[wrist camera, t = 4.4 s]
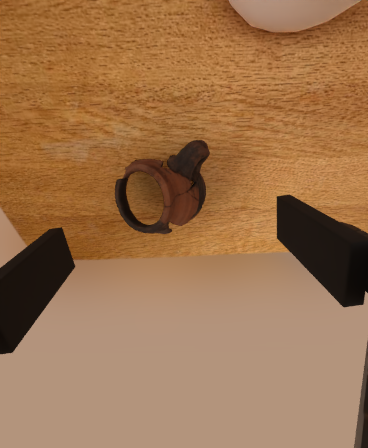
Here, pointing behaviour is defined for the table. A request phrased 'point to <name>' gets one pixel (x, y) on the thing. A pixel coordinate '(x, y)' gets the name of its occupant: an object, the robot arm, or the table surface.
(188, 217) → the pottery mug
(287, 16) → the pot
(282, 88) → the table surface
